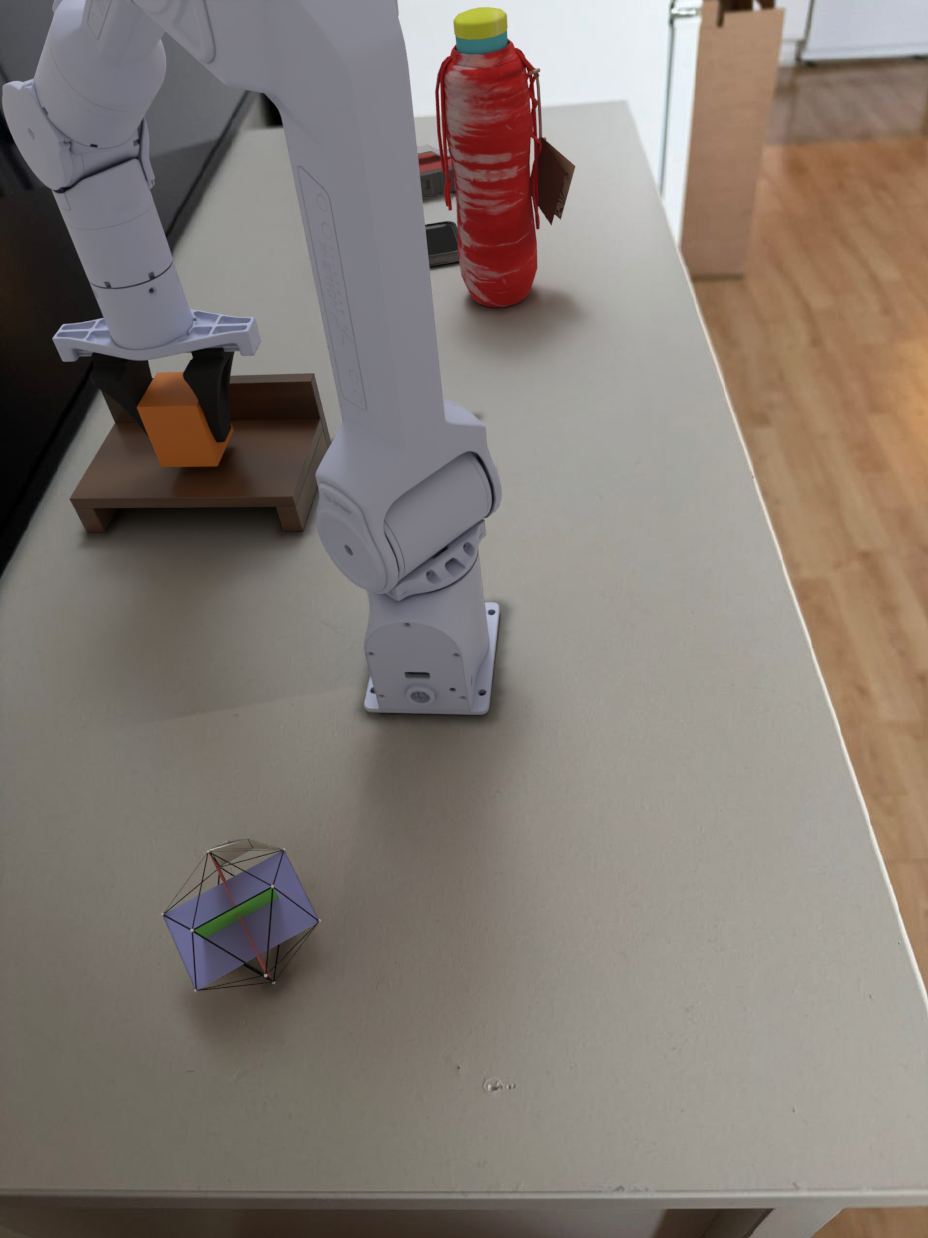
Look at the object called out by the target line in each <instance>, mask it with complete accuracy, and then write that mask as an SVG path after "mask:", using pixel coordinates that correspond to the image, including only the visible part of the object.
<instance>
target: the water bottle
mask: <svg viewBox="0 0 928 1238" xmlns="http://www.w3.org/2000/svg"><path fill="white" fill-rule="evenodd" d="M452 22H453V24H452V25H453V30H454V31H453V32H454V33H453V34H454V36H455V37H454V38H455V44H454V45H453V47H452V49H451V51H450V55H448V56H446V57H445V58H444V59H443V61H442V62H441V64H440V67H439V69H438V72H437V76H436V82H435V90H434V95H435V98H434V99H435V114H436V115H435V117H436V134H437V143H438V150H439V151H440V159H441V167H442V171H443V173H444V175H445V177H446V184H445V187H444V193H443V196H444V203H445V207H447V208H448V209H447V210H448V211H453V204H452V194H451V193H452V192H451V191H450V187H451V186H452V184H453V183H452V181H451V179H450V177H449V168H448V155H447V149H449V153H450V158H451V163H452V168H453V175H454V184H455V191H454V192H455V205H456V226H457V235H458V255H459V261H458V263H459V269H460V276H461V278H462V280H463V282H464V286H465V287H466V289H467V291H468V293H469V294H470V296H471V297H472V299H473V300H474V301H475V302H476V303H477V304H479V305H483V306H484V307H487V308H506V307H509V306H515V305H517V304H518V303H520V302H521V301H523V300H525V299H526V298H527V297H528V296H529V294H530V292H531V290H532V287H533V283H534V281H535V277H536V274H537V271H538V240H537V232H536V230H537V231H538V230H540V228H541V220H540V214H539V213H540V212H539V210H540V211H541V213H542V214H543V215H544V217H545V218H546V220H547V221H548V223H549V225H550V226H551V227H552V225H553V222H554V218H555V216H556V217H557V218H558V219H559V220H560V221H561V220H562V217H563V213H564V210H565V206H566V202H567V198H568V196H569V191H570V187H571V185H572V181H573V178H574V173H575V170H576V165H575V164H574V163H573V162H571V161H570V160H569V159H568V158H567V157H566V156H565V155H563V154H562V153H561V152H560V151H559V150H558V149H556V148H555V147H554V146H553V145H552V144H551V143H550V142H549V141H547V137H545V136H544V137H543V121H542V116H543V115H542V101H541V85H540V84H541V83H540V72H541V68H540V67H538V68H536V67H534V66H533V64H532V63H531V62H530V61H529V60H528V59H527V57H526V55H525V53H524V52H523V51H522V50H521V49H520V48H518V47H515V44H514V41H513V42H512V40H510V39H509V38H508V26H509V25H508V14H507V13H506V12H505V10H503V9H502V8H497V7H490V6H482V7H481V6H480V7H474V8H470V9H466V10H464V11H462V12H459V13H457V15H456V16H455V17H454V19H453V21H452ZM535 84H536V93H535ZM537 118H538V125H537ZM532 140H533V161H532V166H531V145H532V144H531V143H532ZM443 151H444V155H443Z"/></svg>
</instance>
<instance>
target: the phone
mask: <svg viewBox="0 0 928 1238" xmlns="http://www.w3.org/2000/svg"><path fill="white" fill-rule="evenodd" d="M425 230H426V239H427V249H428V259H429V267H435V266H439V265H445V264H451V263H457V262H459V255H458V235H457V222H455V221H452V220H444V221H437V222H432V223H425Z"/></svg>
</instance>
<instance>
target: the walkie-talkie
mask: <svg viewBox="0 0 928 1238" xmlns="http://www.w3.org/2000/svg"><path fill="white" fill-rule="evenodd" d="M417 153H418V162H419V172H420V182H421V191H422V199H423V198H427V197H432V196H438V195H442V194H443V195H444V187H445V184H446V177H445V175H444V173H443V171H442V167H441V159H440V151H439V148H435V147H433V146H431V145H429V144H423V145H417ZM443 155H444V151H443ZM447 155H448V168H449V177H450V179H451V181H452V183H453V184H452V186H451V187H450V191H451V193H453V192H455V184H454V175H453V168H452V163H451V158H450V153H449V148H447Z"/></svg>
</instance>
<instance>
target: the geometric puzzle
mask: <svg viewBox="0 0 928 1238" xmlns="http://www.w3.org/2000/svg"><path fill="white" fill-rule="evenodd" d="M254 849H255V850H254ZM256 849H257V850H256ZM264 850H275V851H273V852H272V851H271V852H268V853H265V854H262V855H257V856H255V857H251V858H247V859H242V860H239V861H236V862H232V861H234V860H235V859H237V858H239V857H241V856H243V855H244V854H246V853H248V852H253V851H255V852H257V851H259V852H260V851H263V852H264ZM269 855H272V856H269ZM265 856H269V857H267V858H265V859H264V860H262V861H260V862H258V863H257V864H254V865H252V866H251V867H249V868H247V869H245V870H244V869H243V868H241V867H239V866H238V865H235V864H239V863H242V862H246V861H249V860H254V859H258V858H261V857H265ZM208 857H210V858H211V859H210V860H211V861H212V863H213V865H214V867H215V870H214V871H213V872H211V873H210V874H209V875H208V876H207V877H206V878H204V877H205V872H206V868H207V862H208ZM204 859H205V862H204V868H203V872H202V877H201V881H200V882H199V883H198V884H197V885H195V887H193V888H192V889H191V890H190V891H188V892H187V893H186V894H185V895H184V896H183V897H181V898H180V899H179V900H178V901H176V902H175V903H174V904H173V905H172V906H171V904H172V903H173V902H174V900H175V898H176V897H177V896H178V895H179V893H180V892H181V890H182V889H183V888H184V886H185V885H186V884H187V883H188V881H189V879H190V878H191V877H192V875H193V874H194V872H195V871H196V870H197V868H198V867H199V865H200V864H201V863H202V861H203V860H204ZM227 866H233V867H234V868H236V869H238V870H240V871H241V872H240V873H238V874H236V875H235V874H233V873H232V872H230V871H228V870H227V869H225V868H224V867H227ZM216 872H217V873H218V875H217V885H215V886H213V887H212V888H209V889H208V890H206V891H203V892H202V888H203V883H204V882H205V881H206V880H208V879H209V878H210V877H211V876H213V874H215V873H216ZM223 872H225V873H227V874H229V875H230V876H232V877H230V878H228V879H226V877H225V874H224V873H223ZM220 881H221V883H220ZM198 887H199V890H198V891H199V892H198V895H197V896H194V897H192V898H191V899H188V900H187V901H185V902H184V903H182V904H179V903H180V902H181V901H182V900H184V898H186V897H187V896H189V894H191V893H192V892H193V891H194V890H196V889H197V888H198ZM177 904H179V905H178V906H176V905H177ZM170 906H171V907H170ZM175 906H176V907H175ZM160 916H162V917H163V920H164V922H165V924H166V927H167V928H168V931H169V933H170V935H171V938H172V940H173V942H174V944H175V946H176V950H177V951H178V953H179V956H180V959H181V961H182V963H183V965H184V967H185V970H186V972H187V974H188V976H189V978H190V981H191V983H192V986H193V992H194V993H197V992H200V991H209V990H220V989H227V988H236V987H245V986H246V987H247V986H254V985H255V986H256V985H265V984H272V985H275V984H276V980H277V979H278V978H279V976H280V975H281V974H282V972H283V971H284V969H286V967H287V966H288V964H290V962H291V960H292V959H293V958H294V956H295V955H296V954H297V952H298V951H299V949H301V947H302V946H303V944H304V943H305V941H306V940H307V939H308V938H309V936H310V935H311V934H312V932H313V931H314V930H315V929H316V927H317V926H318V924H320V923H321V922H322V919H320V918H319V917H318V915H317V913H316V911H315V909H314V907H313V904H312V902H311V901H310V899H309V897H308V895H307V893H306V891H305V888H304V887H303V885H302V883H301V881H300V878H299V877H298V875H297V873H296V870H295V869H294V867H293V864H292V863H291V861H290V858H289V857H288V855H287V852H286V848H285V847H283V848H280V847H276V846H273V845H270V844H267V843H264V842H260V841H257V840H254V839H250V838H240V839H239V838H238V839H237V838H236V839H229V840H226V841H224V842H222V843H220V844H218V845H215V846H214V847H212V848H209V849H208V850H206V854H205V855H204V856H203V858H202V859H201V861H200V862H199V863H198V865H197V866H196V868H195V869H194V870H193V872H192V873H191V874H190V876H189V877H188V879H187V880H186V881H185V883H183V885H182V887H181V888H180V890H178V893H177V894H176V895H175V897H174V898H173V899H172V901H171V902H170V904H169V905H168V906H167V908H166V909H165V910H164V912H162V913H161V914H160ZM310 927H311V928H310ZM309 928H310V929H309ZM307 929H309V930H308V931H307V932H306V933H305V934H304V935H303V936H302V937H301V938H300V939H299V940H298V941H297V942H296V943H295V945H293V946H292V947H291V948H290V950H289V951H288V952H286V954H284V956H283V957H282V958H280V959H279V952H280V946H281V944H282V943H284V942H285V941H288V940H289V939H291V938H293V937H294V936H296V935H298V934H300V933H302V932H303V931H305V930H307ZM306 936H307V937H306ZM304 938H305V939H304ZM303 939H304V940H303ZM302 940H303V942H302ZM300 942H302V943H301V944H300V946H299V947H298V949H297V950H296V951H295V953H294V954H293V955H292V957H291V958H290V959H289V960H288V962H287V963H286V964H285V966H284V967H283V968H282V970H281V971H280V972H279V973H278V975H277V976H276V974H277V967H278V964H279V963H280V962H282V961H283V959H284V958H286V956H287V955H289V954H290V952H292V950H293V949H295V947H296V946H298V944H299V943H300ZM275 947H277V948H276V949H277V950H276V956H275V962H274V963H275V964H274V966H273V967H272V968H271V969H270V970H269V969H268V968H269V967H268V965H269V954H270V953H269V952H270V950H272V949H273V948H275ZM265 953H266V958H265V961H264V958H263V956H262V955H263V954H265ZM255 958H257V959H258V962H259V964H260V966H261V968H262V970H263V971H261V970H260V969H259V968H257V967H255V966H254V965H251V964H250V963H248V962H250V961H252V960H253V959H255ZM278 959H279V960H278ZM241 966H243V967H245V968H246V969H248V970H249V971H251V972H254V973H255V974H257V975H258V976H254V977H253V976H252V977H249V978H244V979H241V980H240V979H239V980H235V981H231V982H226V983H221V984H217V985H213V986H208V985H209V984H211V983H213V982H215V981H216V980H218V979H220V978H222V977H224V976H225V975H227V974H229V973H231V972H232V971H235V970H236V969H238V968H240V967H241ZM272 971H273V977H272V974H271V972H272ZM258 978H264V979H265V980H267V981H266V982H257V983H249V984H239V985H232V986H231V985H230V984H235V983H240V982H244V981H250V980H254V979H258ZM225 985H230V986H225ZM206 986H208V987H206Z"/></svg>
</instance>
